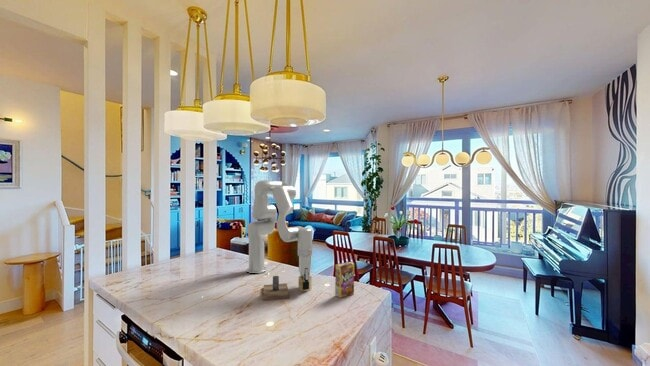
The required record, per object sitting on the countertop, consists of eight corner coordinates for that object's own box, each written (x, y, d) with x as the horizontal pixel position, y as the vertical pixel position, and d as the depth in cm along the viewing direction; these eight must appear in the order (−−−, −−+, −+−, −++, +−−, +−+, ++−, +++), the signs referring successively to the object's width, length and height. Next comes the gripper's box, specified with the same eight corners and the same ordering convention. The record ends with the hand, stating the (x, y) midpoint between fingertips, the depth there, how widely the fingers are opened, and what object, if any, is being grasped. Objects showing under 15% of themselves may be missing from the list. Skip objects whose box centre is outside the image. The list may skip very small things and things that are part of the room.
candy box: (340, 298, 123) (340, 266, 123) (334, 295, 126) (334, 263, 127) (354, 294, 127) (354, 263, 128) (349, 291, 131) (349, 261, 131)
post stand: (263, 287, 136) (263, 272, 136) (286, 286, 139) (286, 270, 139) (263, 300, 120) (263, 283, 121) (289, 298, 123) (289, 281, 123)
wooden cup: (297, 287, 137) (297, 275, 137) (310, 286, 139) (310, 274, 139) (299, 291, 131) (299, 279, 131) (312, 290, 132) (312, 278, 132)
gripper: (296, 248, 143) (296, 281, 142) (299, 256, 126) (299, 293, 125) (309, 248, 144) (309, 280, 144) (314, 255, 128) (314, 292, 127)
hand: (304, 286), depth 135 cm, fingers closed on wooden cup, 6 cm apart
